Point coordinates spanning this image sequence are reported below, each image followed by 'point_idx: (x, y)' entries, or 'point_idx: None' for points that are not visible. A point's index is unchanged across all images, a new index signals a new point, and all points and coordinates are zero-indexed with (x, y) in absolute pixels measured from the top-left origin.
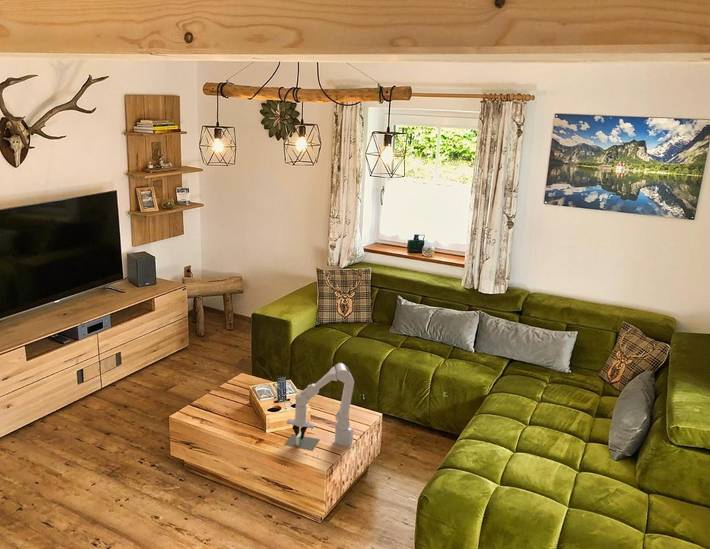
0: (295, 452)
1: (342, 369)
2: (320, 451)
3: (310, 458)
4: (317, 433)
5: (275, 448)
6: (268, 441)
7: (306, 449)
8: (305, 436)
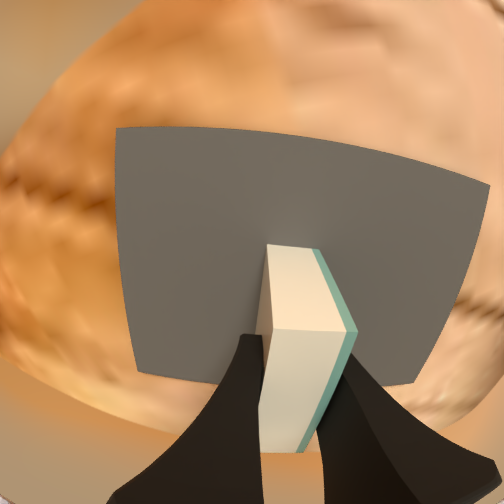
0: None
1: None
2: (463, 348)
3: None
4: (433, 33)
5: (107, 392)
6: (19, 317)
7: None
8: (326, 143)
